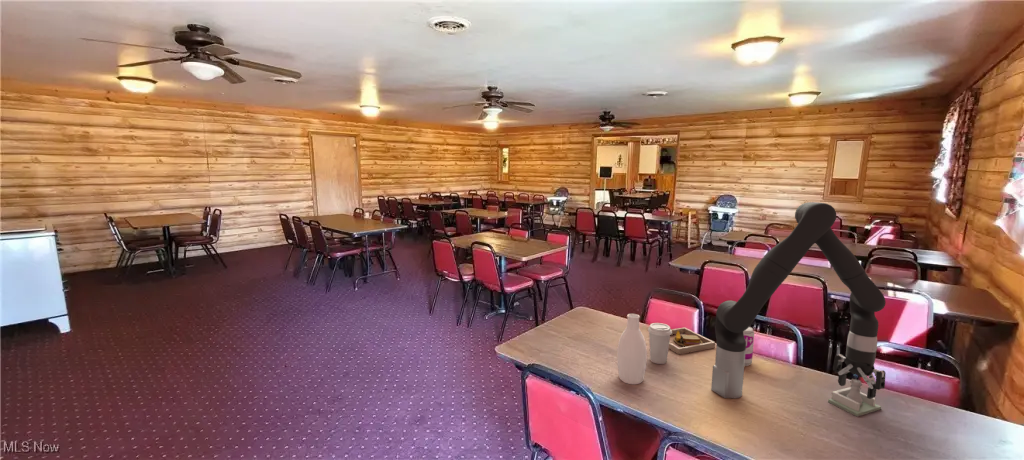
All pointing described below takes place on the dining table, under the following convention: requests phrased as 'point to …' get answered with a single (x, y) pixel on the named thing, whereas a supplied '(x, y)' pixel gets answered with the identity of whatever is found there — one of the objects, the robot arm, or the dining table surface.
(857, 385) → the rook chess piece
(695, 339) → the toy sandwich meal
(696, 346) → the tray rim
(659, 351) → the coffee cup
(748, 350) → the supplement can
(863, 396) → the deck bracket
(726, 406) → the dining table surface
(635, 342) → the bottle
